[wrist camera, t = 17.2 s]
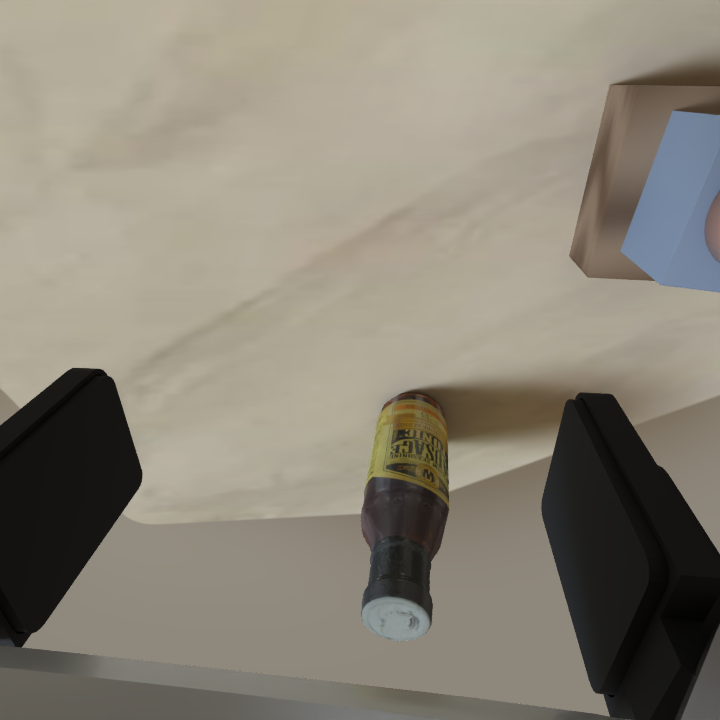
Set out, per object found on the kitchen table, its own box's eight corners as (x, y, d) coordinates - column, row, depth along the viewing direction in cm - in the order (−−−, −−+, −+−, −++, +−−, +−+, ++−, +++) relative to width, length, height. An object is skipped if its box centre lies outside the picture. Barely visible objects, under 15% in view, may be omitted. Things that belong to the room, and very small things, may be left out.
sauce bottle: (459, 409, 43) (486, 621, 26) (421, 453, 46) (422, 669, 29) (397, 374, 42) (383, 572, 25) (362, 422, 45) (327, 628, 28)
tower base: (607, 85, 31) (638, 84, 26) (793, 88, 30) (857, 88, 25) (567, 254, 36) (587, 277, 32) (723, 261, 35) (765, 286, 31)
